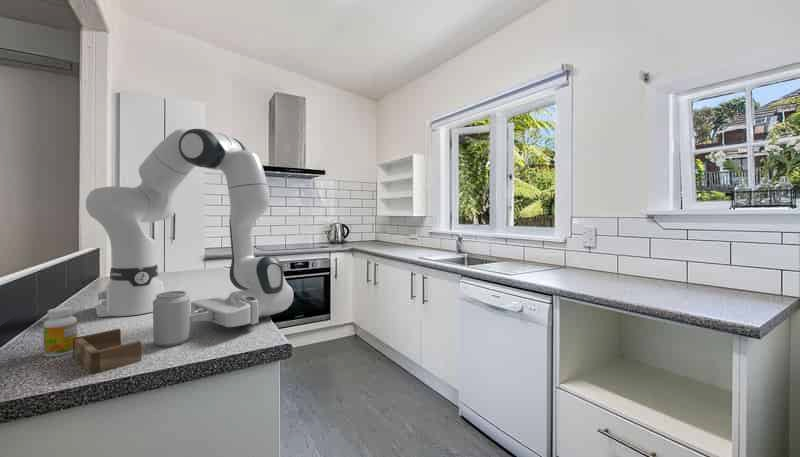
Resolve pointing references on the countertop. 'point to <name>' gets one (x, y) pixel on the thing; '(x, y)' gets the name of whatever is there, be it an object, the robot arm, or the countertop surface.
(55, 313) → the supplement bottle
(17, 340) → the countertop surface
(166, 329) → the can
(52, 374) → the countertop surface
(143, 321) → the countertop surface
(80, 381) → the countertop surface
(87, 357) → the corral
